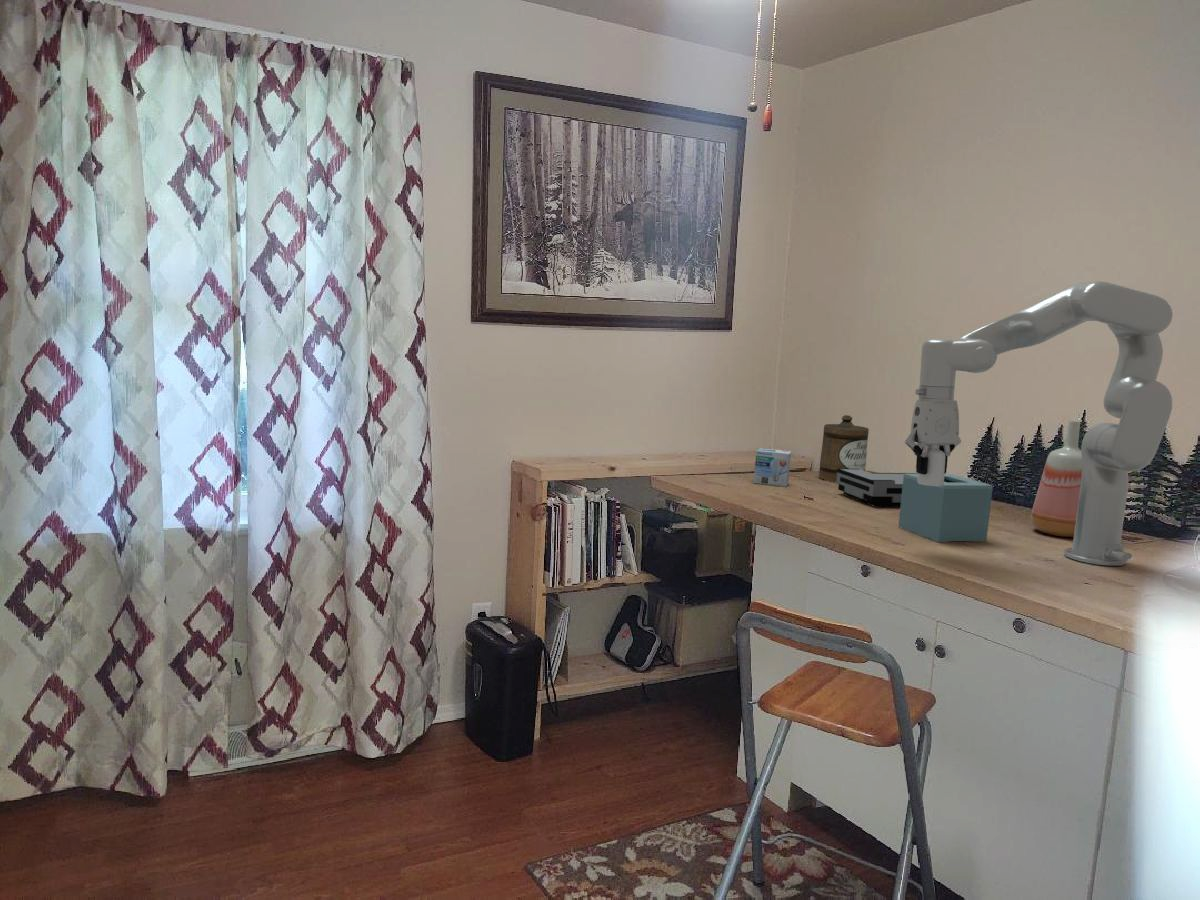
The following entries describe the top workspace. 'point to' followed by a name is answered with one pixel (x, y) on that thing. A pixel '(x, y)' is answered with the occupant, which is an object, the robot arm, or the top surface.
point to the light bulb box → (772, 467)
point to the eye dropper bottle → (933, 467)
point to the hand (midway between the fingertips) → (931, 472)
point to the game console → (872, 486)
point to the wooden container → (843, 448)
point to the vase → (1060, 488)
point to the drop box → (946, 508)
